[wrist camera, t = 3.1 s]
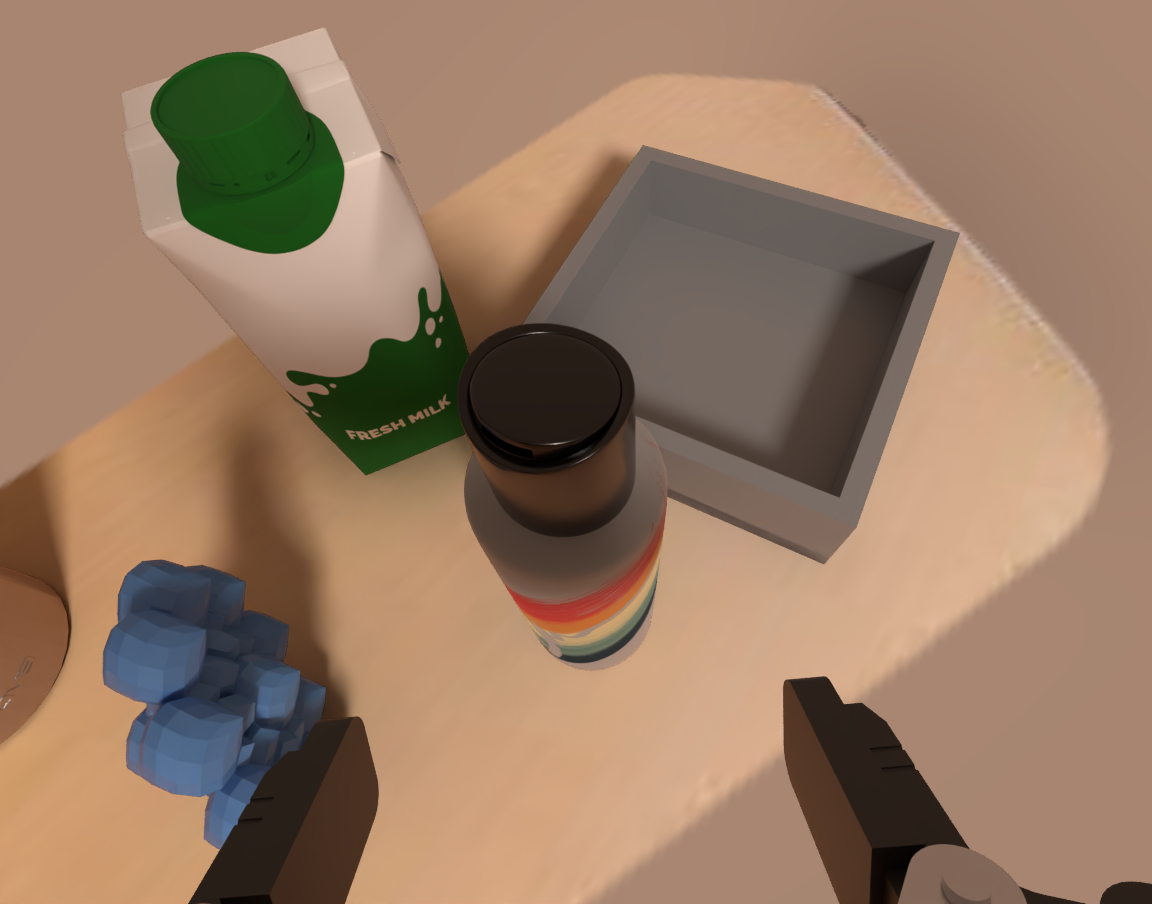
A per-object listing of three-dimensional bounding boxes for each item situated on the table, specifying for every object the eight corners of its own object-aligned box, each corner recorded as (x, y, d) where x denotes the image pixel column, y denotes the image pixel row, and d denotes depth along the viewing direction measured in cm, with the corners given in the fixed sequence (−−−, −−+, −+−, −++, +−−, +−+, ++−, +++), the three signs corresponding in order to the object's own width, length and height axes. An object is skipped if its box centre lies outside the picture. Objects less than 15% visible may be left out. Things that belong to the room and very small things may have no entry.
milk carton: (354, 497, 35) (67, 196, 17) (316, 371, 39) (52, 22, 21) (505, 433, 36) (384, 89, 18) (453, 318, 40) (312, -56, 22)
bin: (504, 426, 36) (487, 375, 32) (641, 211, 43) (642, 145, 38) (824, 564, 31) (856, 527, 27) (921, 297, 38) (959, 233, 34)
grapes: (187, 654, 32) (-38, 586, 21) (317, 584, 33) (166, 486, 22) (253, 906, 27) (2, 988, 16) (404, 814, 28) (264, 831, 17)
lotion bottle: (510, 632, 31) (349, 425, 13) (572, 534, 33) (506, 240, 15) (614, 697, 29) (590, 561, 11) (673, 589, 31) (730, 332, 13)
